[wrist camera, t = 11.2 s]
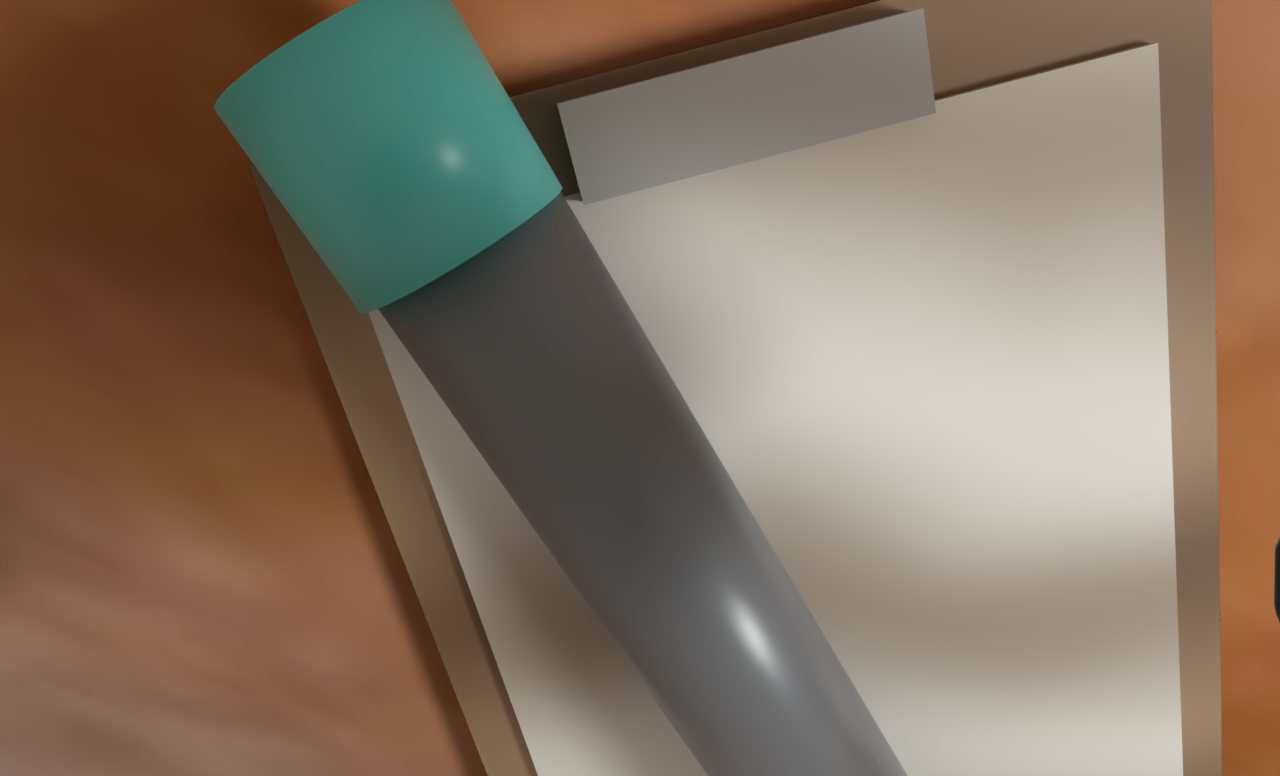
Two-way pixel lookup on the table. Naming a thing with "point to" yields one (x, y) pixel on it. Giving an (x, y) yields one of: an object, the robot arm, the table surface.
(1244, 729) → the table surface
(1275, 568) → the robot arm
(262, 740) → the table surface
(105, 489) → the table surface
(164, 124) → the table surface
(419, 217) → the marker
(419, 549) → the clipboard
